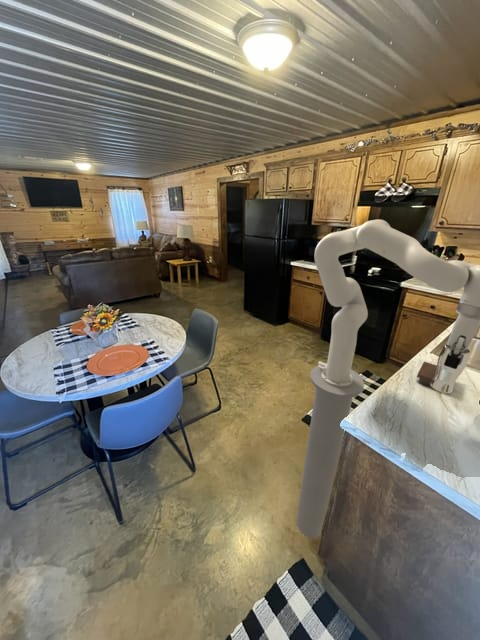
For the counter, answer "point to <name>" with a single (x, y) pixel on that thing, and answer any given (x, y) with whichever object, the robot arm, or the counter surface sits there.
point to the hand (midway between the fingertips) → (451, 361)
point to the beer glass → (448, 370)
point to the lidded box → (427, 373)
